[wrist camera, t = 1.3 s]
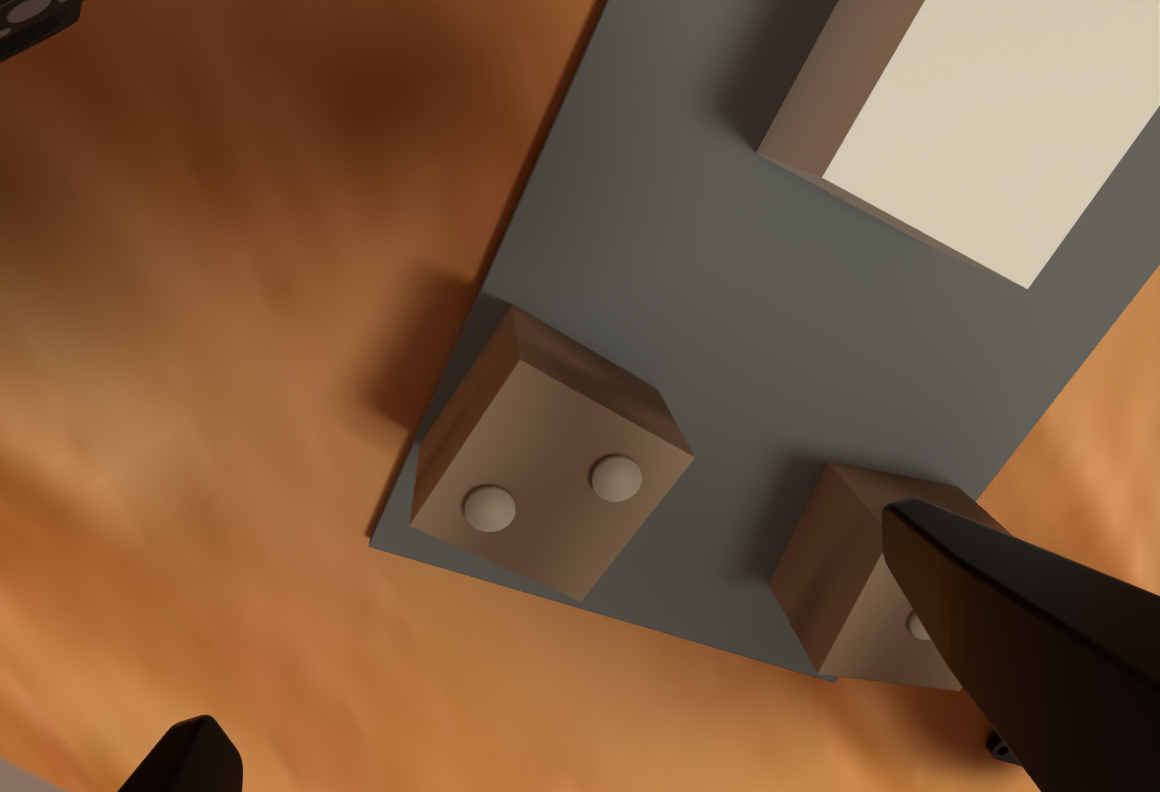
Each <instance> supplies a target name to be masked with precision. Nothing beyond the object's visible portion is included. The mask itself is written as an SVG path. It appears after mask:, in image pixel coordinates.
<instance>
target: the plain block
mask: <svg viewBox="0 0 1160 792" xmlns="http://www.w3.org/2000/svg"><path fill="white" fill-rule="evenodd" d="M1159 106H1160V0H838V2H837V4H836V6H835V8H834V10H833V12H832V13H831V15H830V17H829V19H828V21H827V23H826V24H825V26H824V28H823V30H822V32H821V34H820V36H819V37H818V39H817V41H816V43H815V45H814V47H813V48H812V50H811V52H810V54H809V56H808V58H807V60H806V61H805V63H804V65H803V67H802V69H801V71H800V72H799V74H798V76H797V78H796V80H795V82H794V84H793V85H792V87H791V89H790V91H789V93H788V95H787V96H786V98H785V100H784V102H783V104H782V106H781V107H780V109H779V111H778V113H777V115H776V117H775V119H774V120H773V122H772V124H771V126H770V128H769V130H768V131H767V133H766V135H765V137H764V139H763V141H762V143H761V144H760V146H759V148H758V150H757V152H756V153H757V154H758V155H760V156H762V157H764V158H766V159H768V160H770V161H771V162H773V163H775V164H777V165H779V166H781V167H783V168H784V169H786V170H788V171H790V172H792V173H794V174H796V175H797V176H799V177H801V178H803V179H805V180H807V181H809V182H810V183H812V184H814V185H816V186H818V187H820V188H822V189H823V190H825V191H827V192H829V193H831V194H833V195H835V196H836V197H838V198H840V199H842V200H844V201H846V202H848V203H849V204H851V205H853V206H855V207H857V208H859V209H861V210H862V211H864V212H866V213H868V214H870V215H872V216H874V217H875V218H877V219H879V220H881V221H883V222H885V223H887V224H888V225H890V226H892V227H894V228H896V229H898V230H900V231H901V232H903V233H905V234H907V235H909V236H911V237H913V238H914V239H916V240H918V241H920V242H922V243H924V244H926V245H927V246H929V247H931V248H933V249H936V250H938V251H940V252H943V253H945V254H947V255H950V256H952V257H954V258H956V259H959V260H961V261H963V262H966V263H968V264H970V265H973V266H975V267H977V268H980V269H982V270H984V271H986V272H989V273H991V274H993V275H996V276H998V277H1000V278H1003V279H1005V280H1007V281H1010V282H1012V283H1014V284H1016V285H1019V286H1021V287H1023V288H1026V289H1028V288H1029V287H1030V285H1031V284H1032V283H1033V281H1034V280H1035V278H1036V277H1037V276H1038V274H1039V273H1040V271H1041V270H1042V269H1043V267H1044V266H1045V264H1046V263H1047V262H1048V260H1049V259H1050V258H1051V256H1052V255H1053V253H1054V252H1055V251H1056V249H1057V248H1058V246H1059V245H1060V244H1061V242H1062V241H1063V239H1064V238H1065V237H1066V235H1067V234H1068V232H1069V231H1070V230H1071V228H1072V227H1073V226H1074V224H1075V223H1076V221H1077V220H1078V219H1079V217H1080V216H1081V214H1082V213H1083V212H1084V210H1085V209H1086V207H1087V206H1088V205H1089V203H1090V202H1091V200H1092V199H1093V198H1094V196H1095V195H1096V194H1097V192H1098V191H1099V189H1100V188H1101V187H1102V185H1103V184H1104V182H1105V181H1106V180H1107V178H1108V177H1109V175H1110V174H1111V173H1112V171H1113V170H1114V168H1115V167H1116V166H1117V164H1118V163H1119V162H1120V160H1121V159H1122V157H1123V156H1124V155H1125V153H1126V152H1127V150H1128V149H1129V148H1130V146H1131V145H1132V143H1133V142H1134V141H1135V139H1136V138H1137V136H1138V135H1139V134H1140V132H1141V131H1142V130H1143V128H1144V127H1145V125H1146V124H1147V123H1148V121H1149V120H1150V118H1151V117H1152V116H1153V114H1154V113H1155V111H1156V110H1157V109H1158V107H1159Z"/></svg>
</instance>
